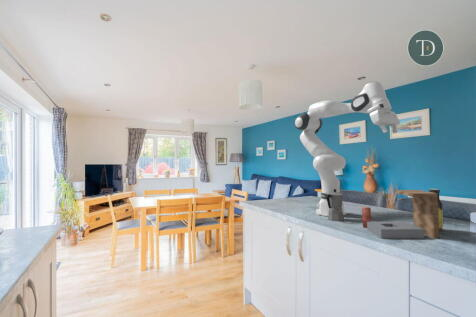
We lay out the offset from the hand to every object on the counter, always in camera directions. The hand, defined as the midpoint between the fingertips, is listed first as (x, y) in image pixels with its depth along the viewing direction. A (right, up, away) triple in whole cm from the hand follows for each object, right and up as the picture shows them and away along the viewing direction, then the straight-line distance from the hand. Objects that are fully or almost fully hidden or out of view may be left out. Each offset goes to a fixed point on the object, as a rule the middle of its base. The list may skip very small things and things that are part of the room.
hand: (390, 132), depth 127 cm
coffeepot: (-22, -50, +17) cm, 57 cm away
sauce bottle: (+16, -48, -9) cm, 52 cm away
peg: (-13, -49, -1) cm, 51 cm away
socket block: (-7, -49, -13) cm, 51 cm away
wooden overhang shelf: (+3, -48, -14) cm, 51 cm away
